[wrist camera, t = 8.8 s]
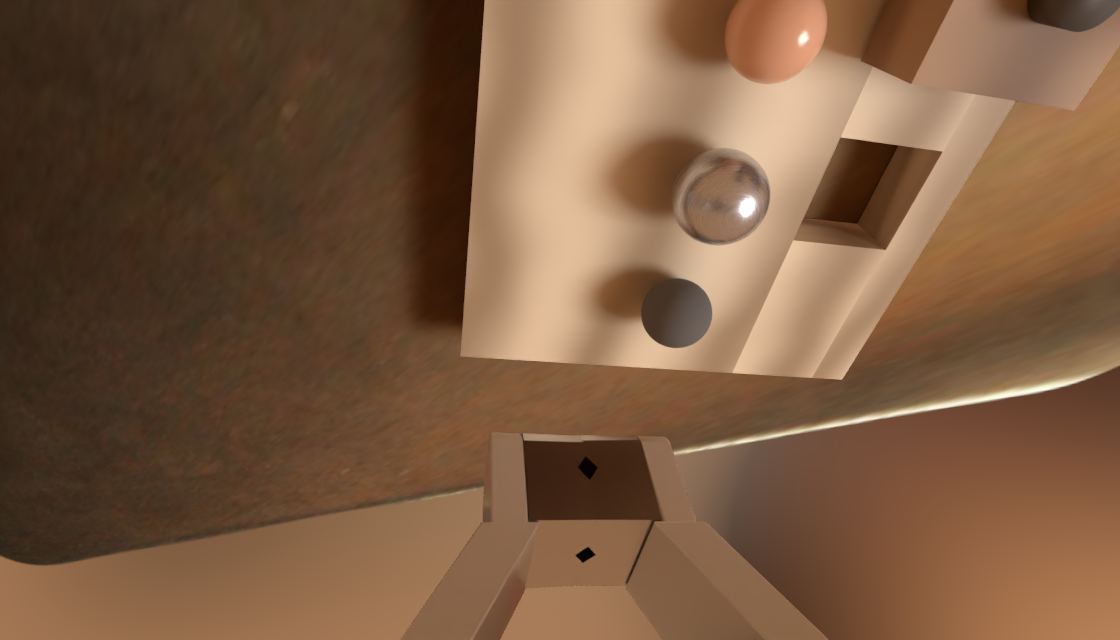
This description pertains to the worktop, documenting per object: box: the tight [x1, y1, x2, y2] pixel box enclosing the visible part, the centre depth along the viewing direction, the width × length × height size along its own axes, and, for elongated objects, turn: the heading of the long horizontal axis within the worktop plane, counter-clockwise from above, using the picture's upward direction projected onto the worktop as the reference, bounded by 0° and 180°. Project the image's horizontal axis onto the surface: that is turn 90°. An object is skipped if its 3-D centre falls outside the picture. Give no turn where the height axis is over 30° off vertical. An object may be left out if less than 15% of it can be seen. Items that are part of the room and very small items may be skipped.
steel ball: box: [671, 148, 770, 246], centre depth 20 cm, size 4×4×4 cm
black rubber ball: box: [641, 278, 712, 348], centre depth 24 cm, size 3×3×3 cm
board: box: [461, 0, 1015, 380], centre depth 23 cm, size 20×20×2 cm
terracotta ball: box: [725, 0, 827, 84], centre depth 17 cm, size 3×3×3 cm
